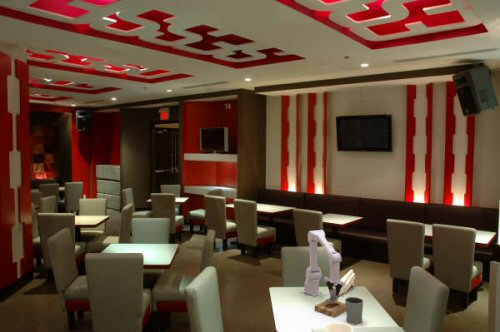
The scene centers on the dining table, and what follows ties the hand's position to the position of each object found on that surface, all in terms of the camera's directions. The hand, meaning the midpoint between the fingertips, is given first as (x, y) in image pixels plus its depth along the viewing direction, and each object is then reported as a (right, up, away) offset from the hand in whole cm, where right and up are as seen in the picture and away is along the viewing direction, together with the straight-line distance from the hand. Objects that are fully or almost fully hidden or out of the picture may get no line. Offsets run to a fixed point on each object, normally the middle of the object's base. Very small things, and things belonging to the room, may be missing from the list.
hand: (334, 294), depth 253 cm
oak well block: (-2, -9, -1) cm, 9 cm away
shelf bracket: (+14, -7, +30) cm, 34 cm away
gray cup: (+8, -10, -15) cm, 20 cm away
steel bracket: (-2, -3, -2) cm, 4 cm away
